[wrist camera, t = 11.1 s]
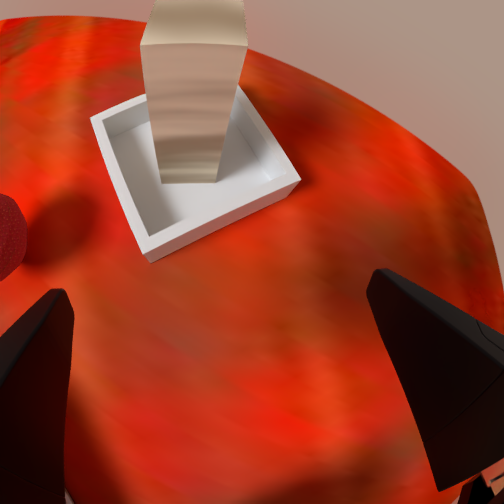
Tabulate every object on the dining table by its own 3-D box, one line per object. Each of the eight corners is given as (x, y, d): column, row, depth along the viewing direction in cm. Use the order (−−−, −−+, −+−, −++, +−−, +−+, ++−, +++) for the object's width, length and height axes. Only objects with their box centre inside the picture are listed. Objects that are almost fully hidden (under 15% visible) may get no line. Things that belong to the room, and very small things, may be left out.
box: (150, 263, 20) (142, 254, 17) (100, 141, 21) (90, 117, 18) (286, 197, 23) (301, 179, 20) (221, 94, 24) (226, 68, 21)
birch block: (215, 183, 21) (247, 46, 9) (161, 184, 20) (139, 45, 8) (214, 138, 22) (243, 0, 9) (164, 139, 21) (156, -1, 9)
